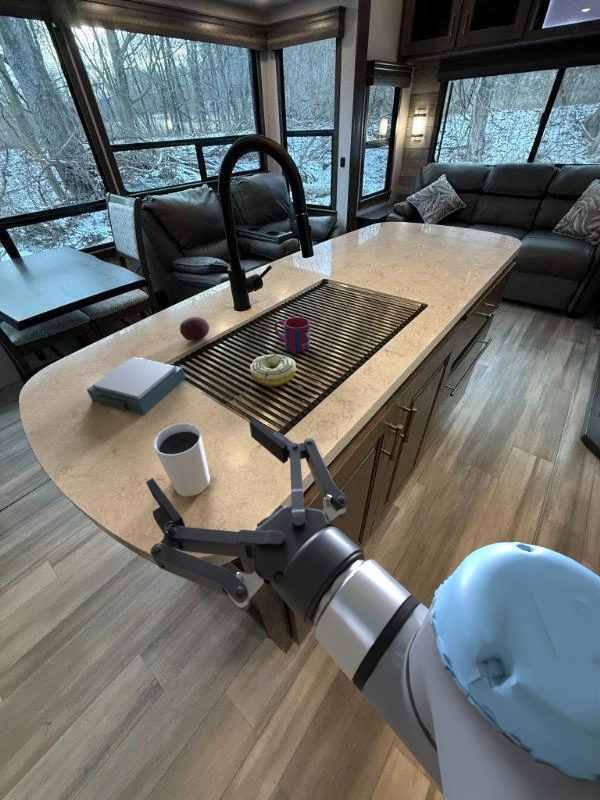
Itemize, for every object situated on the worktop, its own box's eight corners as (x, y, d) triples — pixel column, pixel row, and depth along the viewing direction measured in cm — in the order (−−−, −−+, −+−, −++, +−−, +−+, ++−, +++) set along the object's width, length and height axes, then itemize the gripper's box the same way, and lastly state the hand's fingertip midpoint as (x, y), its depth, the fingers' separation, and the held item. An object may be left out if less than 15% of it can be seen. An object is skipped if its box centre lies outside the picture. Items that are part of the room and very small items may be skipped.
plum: (176, 339, 93) (171, 319, 89) (201, 329, 98) (197, 309, 94) (190, 348, 89) (185, 327, 85) (216, 337, 94) (212, 317, 90)
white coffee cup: (163, 494, 52) (143, 451, 46) (184, 462, 57) (169, 419, 51) (201, 502, 51) (187, 459, 45) (219, 469, 56) (208, 426, 50)
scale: (140, 418, 67) (134, 403, 64) (88, 403, 71) (80, 389, 68) (185, 378, 78) (181, 364, 75) (138, 367, 82) (133, 354, 79)
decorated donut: (282, 359, 84) (281, 346, 81) (304, 380, 76) (304, 366, 74) (244, 371, 80) (242, 358, 77) (263, 394, 72) (262, 380, 70)
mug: (301, 354, 85) (300, 330, 81) (270, 344, 90) (268, 321, 86) (314, 344, 90) (314, 320, 86) (284, 334, 94) (283, 312, 90)
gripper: (220, 746, 23) (112, 539, 36) (413, 522, 37) (286, 427, 49) (198, 729, 19) (82, 498, 31) (428, 479, 32) (283, 386, 44)
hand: (207, 454), depth 40 cm, fingers open, 13 cm apart
